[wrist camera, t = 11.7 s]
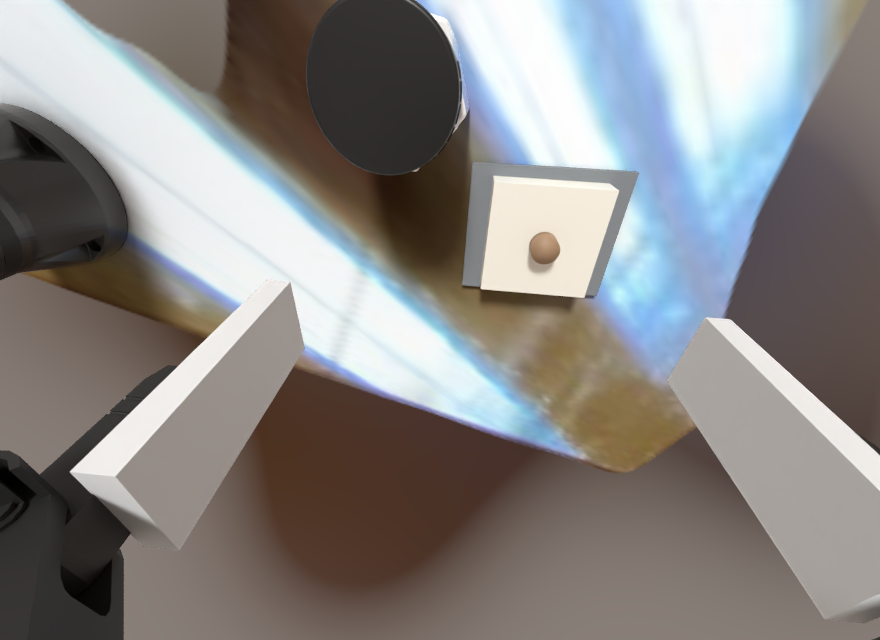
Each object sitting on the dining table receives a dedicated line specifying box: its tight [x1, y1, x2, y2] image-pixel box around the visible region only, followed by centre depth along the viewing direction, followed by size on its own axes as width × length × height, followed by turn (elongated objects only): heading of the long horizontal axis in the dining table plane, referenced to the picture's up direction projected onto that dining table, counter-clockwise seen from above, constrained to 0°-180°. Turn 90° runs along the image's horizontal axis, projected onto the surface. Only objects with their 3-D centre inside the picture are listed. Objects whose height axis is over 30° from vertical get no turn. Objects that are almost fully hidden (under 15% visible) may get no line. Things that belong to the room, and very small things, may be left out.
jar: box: [306, 0, 470, 175], centre depth 23 cm, size 9×8×12 cm
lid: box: [481, 176, 619, 298], centre depth 31 cm, size 10×10×4 cm
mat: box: [462, 162, 639, 296], centre depth 33 cm, size 14×12×1 cm
